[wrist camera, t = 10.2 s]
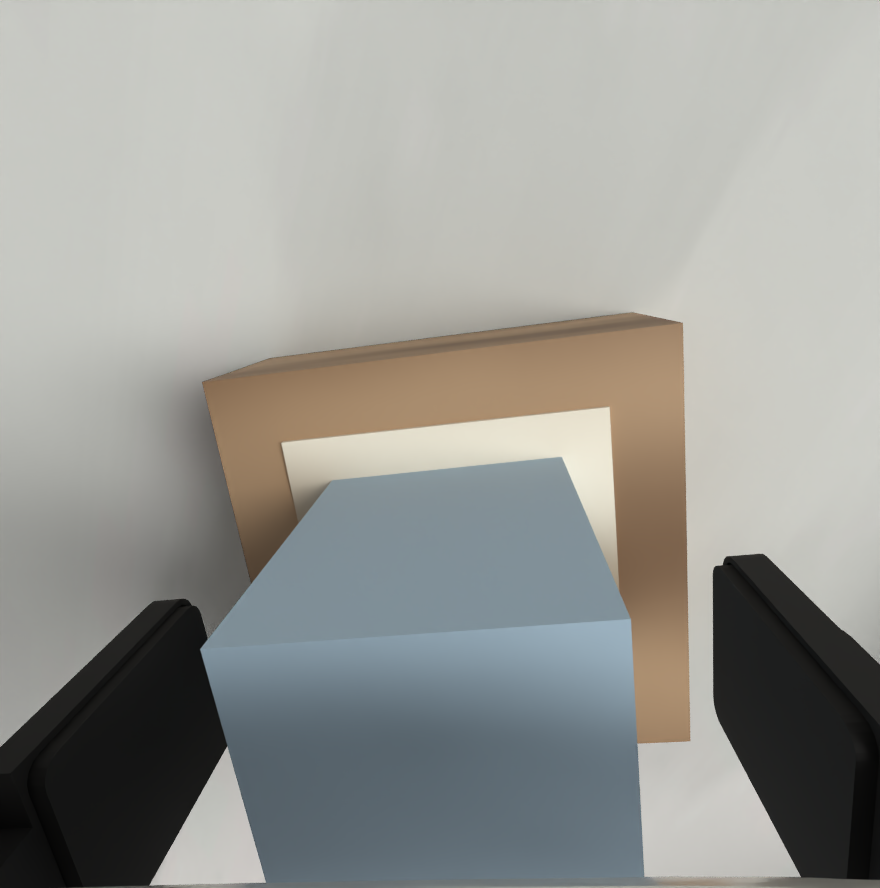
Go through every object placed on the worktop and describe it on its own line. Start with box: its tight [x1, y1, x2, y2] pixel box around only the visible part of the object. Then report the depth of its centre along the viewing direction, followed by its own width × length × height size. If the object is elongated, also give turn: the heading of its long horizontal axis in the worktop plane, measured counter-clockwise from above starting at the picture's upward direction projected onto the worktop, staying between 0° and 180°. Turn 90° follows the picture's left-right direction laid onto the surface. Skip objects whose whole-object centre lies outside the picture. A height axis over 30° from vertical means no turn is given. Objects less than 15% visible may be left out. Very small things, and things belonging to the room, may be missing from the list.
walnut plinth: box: [202, 312, 690, 743], centre depth 15 cm, size 10×10×4 cm
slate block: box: [200, 457, 644, 883], centre depth 10 cm, size 5×5×6 cm
